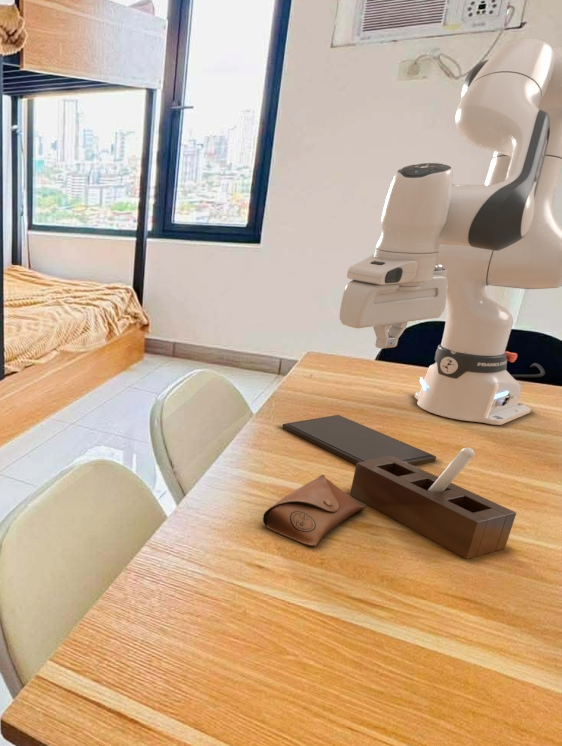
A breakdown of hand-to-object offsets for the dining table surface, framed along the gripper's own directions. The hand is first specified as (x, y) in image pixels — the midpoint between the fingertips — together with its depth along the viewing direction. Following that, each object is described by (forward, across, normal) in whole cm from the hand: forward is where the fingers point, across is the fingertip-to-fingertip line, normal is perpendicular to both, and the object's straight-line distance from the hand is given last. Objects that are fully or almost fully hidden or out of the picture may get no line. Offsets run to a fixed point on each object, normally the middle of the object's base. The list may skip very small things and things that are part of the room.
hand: (385, 347), depth 109 cm
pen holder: (+22, +9, +19) cm, 30 cm away
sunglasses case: (+22, +24, +12) cm, 35 cm away
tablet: (+22, -5, -6) cm, 24 cm away
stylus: (+22, +9, +17) cm, 29 cm away
